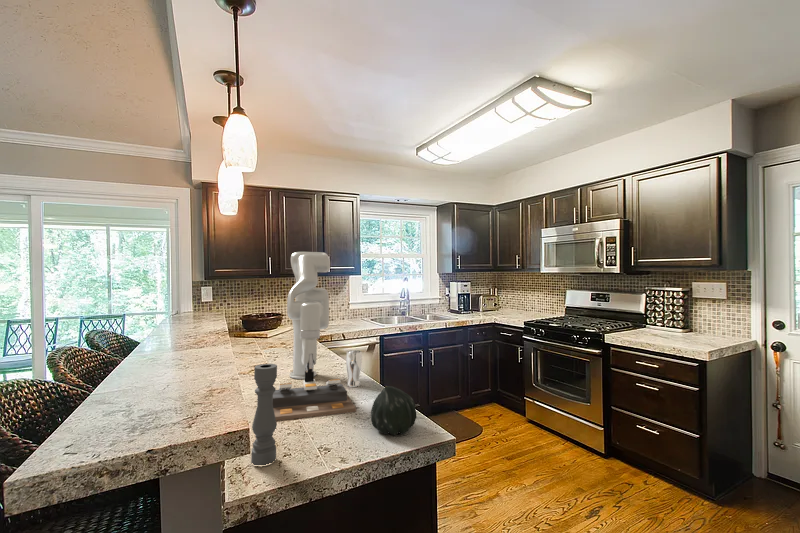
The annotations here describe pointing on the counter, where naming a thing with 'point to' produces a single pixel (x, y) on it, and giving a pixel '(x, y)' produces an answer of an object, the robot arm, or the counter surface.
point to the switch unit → (311, 402)
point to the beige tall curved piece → (353, 367)
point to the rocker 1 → (285, 386)
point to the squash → (393, 411)
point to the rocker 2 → (309, 385)
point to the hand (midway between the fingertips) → (309, 381)
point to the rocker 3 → (333, 382)
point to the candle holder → (264, 415)
